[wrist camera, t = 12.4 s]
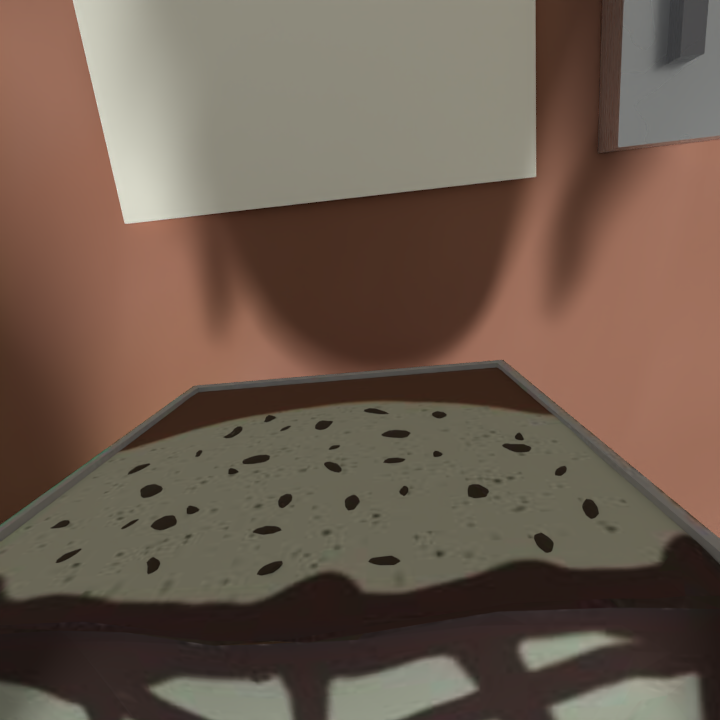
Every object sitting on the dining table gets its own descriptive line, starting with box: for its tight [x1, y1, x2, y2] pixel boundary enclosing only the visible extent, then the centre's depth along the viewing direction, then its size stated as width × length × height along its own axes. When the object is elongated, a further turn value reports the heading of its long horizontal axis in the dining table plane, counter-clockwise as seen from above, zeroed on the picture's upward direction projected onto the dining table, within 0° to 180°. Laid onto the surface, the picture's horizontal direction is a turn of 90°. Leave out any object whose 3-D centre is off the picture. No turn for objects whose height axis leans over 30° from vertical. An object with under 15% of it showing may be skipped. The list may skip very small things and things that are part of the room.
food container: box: [0, 360, 720, 720], centre depth 11 cm, size 12×6×10 cm, turn 96°
